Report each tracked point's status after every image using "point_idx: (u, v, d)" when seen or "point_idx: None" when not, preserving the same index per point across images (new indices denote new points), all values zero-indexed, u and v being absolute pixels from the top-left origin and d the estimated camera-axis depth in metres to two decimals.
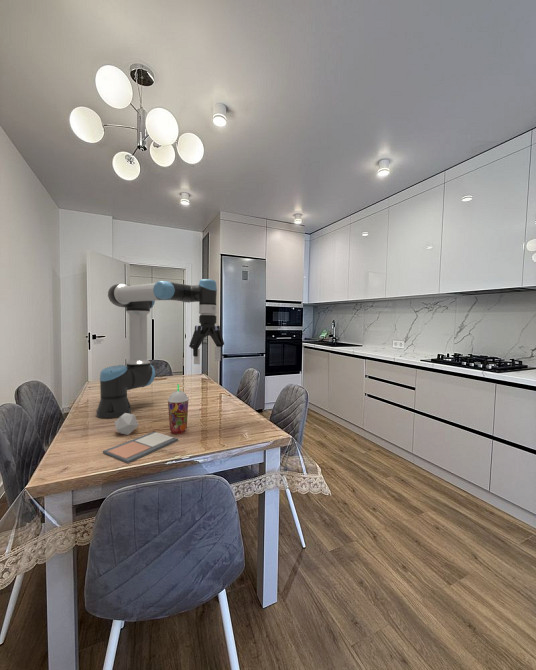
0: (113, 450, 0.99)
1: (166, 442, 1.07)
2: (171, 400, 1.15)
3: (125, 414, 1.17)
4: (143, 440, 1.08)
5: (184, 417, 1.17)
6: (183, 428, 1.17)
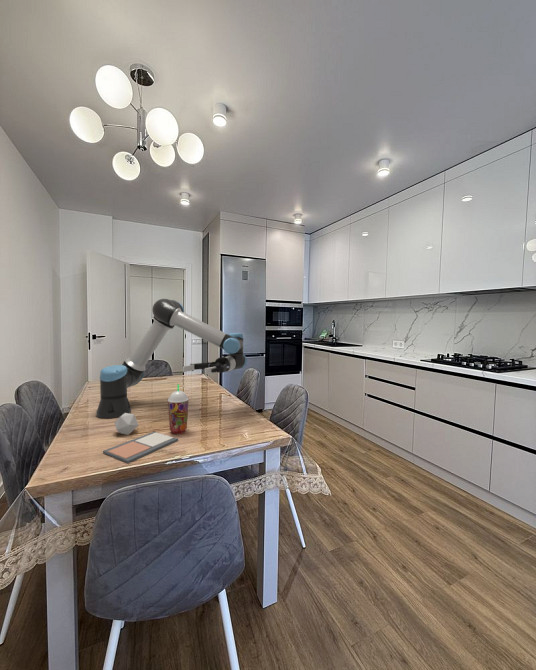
0: (113, 450, 0.99)
1: (166, 442, 1.07)
2: (171, 400, 1.15)
3: (125, 414, 1.17)
4: (143, 440, 1.08)
5: (184, 417, 1.17)
6: (183, 428, 1.17)
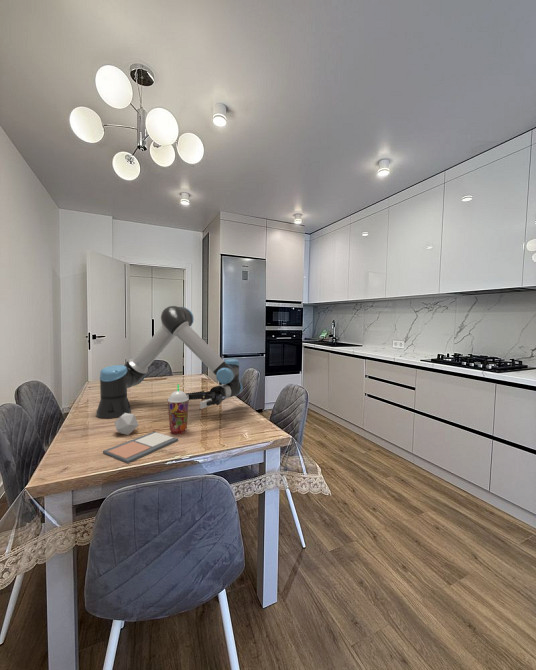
0: (113, 450, 0.99)
1: (166, 442, 1.07)
2: (171, 400, 1.15)
3: (125, 414, 1.17)
4: (143, 440, 1.08)
5: (184, 417, 1.17)
6: (183, 428, 1.17)
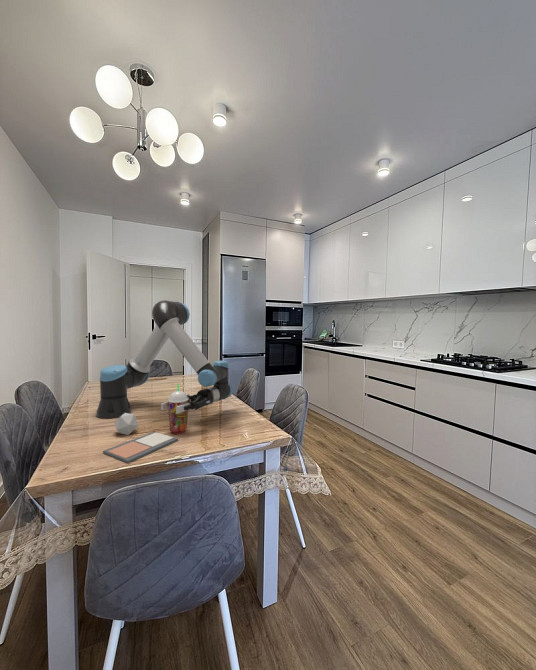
0: (113, 450, 0.99)
1: (166, 442, 1.07)
2: (171, 400, 1.15)
3: (125, 414, 1.17)
4: (143, 440, 1.08)
5: (184, 417, 1.17)
6: (183, 428, 1.17)
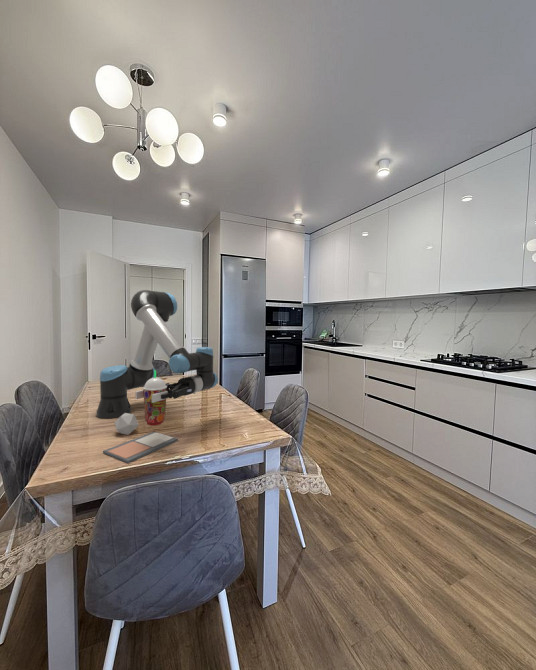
0: (113, 450, 0.99)
1: (166, 442, 1.07)
2: (146, 388, 1.03)
3: (125, 414, 1.17)
4: (143, 440, 1.08)
5: (161, 407, 1.05)
6: (160, 419, 1.05)
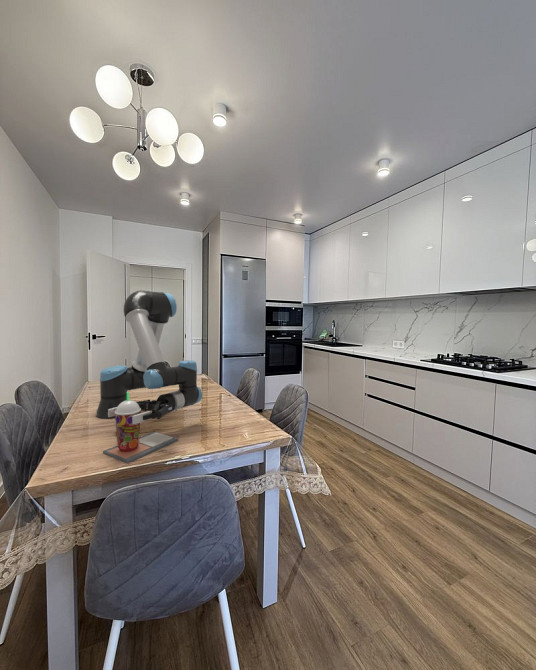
0: (113, 450, 0.99)
1: (166, 442, 1.07)
2: (118, 412, 0.96)
3: None
4: (143, 440, 1.08)
5: (134, 432, 0.98)
6: (133, 445, 0.98)
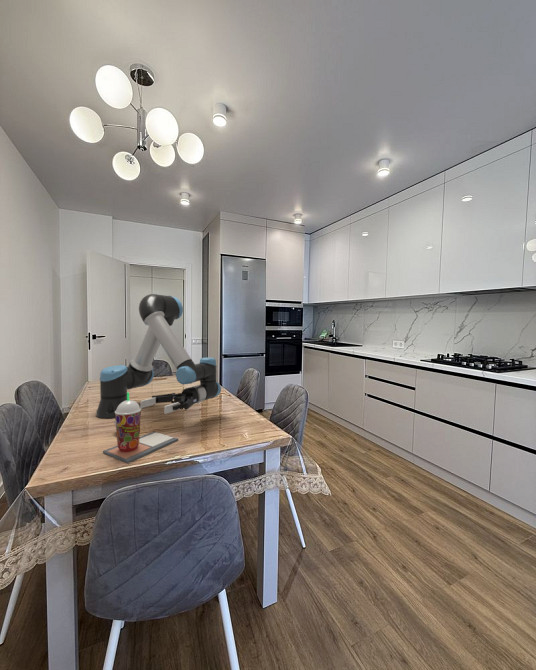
0: (113, 450, 0.99)
1: (166, 442, 1.07)
2: (118, 412, 0.96)
3: None
4: (143, 440, 1.08)
5: (134, 432, 0.98)
6: (133, 445, 0.98)
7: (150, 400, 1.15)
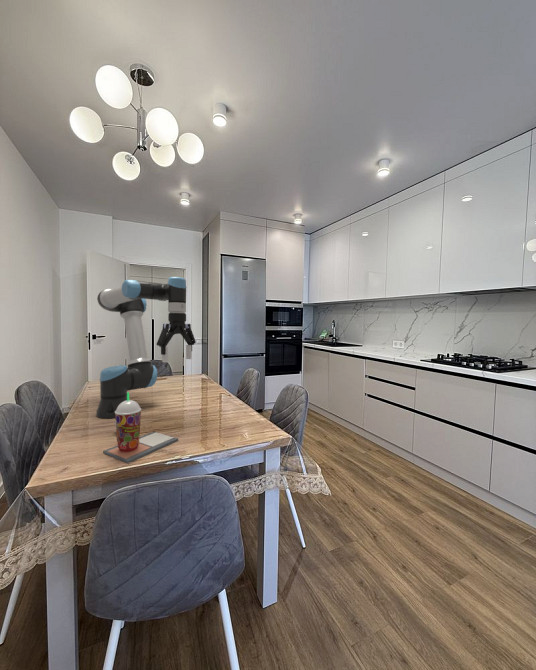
0: (113, 450, 0.99)
1: (166, 442, 1.07)
2: (118, 412, 0.96)
3: None
4: (143, 440, 1.08)
5: (134, 432, 0.98)
6: (133, 445, 0.98)
7: (187, 350, 1.33)
